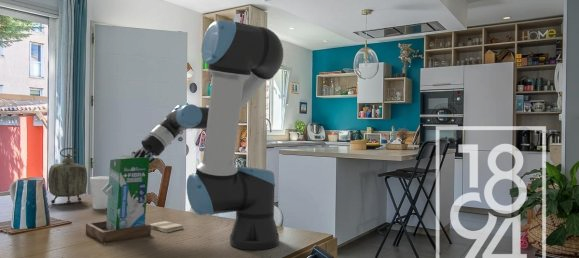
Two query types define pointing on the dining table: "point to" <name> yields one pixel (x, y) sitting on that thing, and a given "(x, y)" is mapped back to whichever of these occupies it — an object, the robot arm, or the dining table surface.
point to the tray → (115, 232)
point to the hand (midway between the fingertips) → (106, 193)
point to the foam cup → (99, 191)
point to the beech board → (166, 226)
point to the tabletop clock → (67, 178)
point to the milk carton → (127, 192)
